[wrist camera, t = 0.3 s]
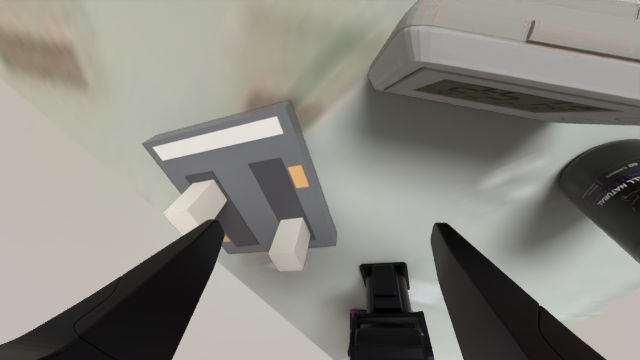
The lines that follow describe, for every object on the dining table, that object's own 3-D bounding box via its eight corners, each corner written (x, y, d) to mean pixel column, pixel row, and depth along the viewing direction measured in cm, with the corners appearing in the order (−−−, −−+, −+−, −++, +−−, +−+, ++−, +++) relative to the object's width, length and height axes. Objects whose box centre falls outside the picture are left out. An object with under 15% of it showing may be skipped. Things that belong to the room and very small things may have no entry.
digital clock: (356, 77, 19) (355, 128, 10) (420, -75, 13) (531, -233, 5) (521, 147, 20) (640, 242, 12) (637, 35, 15) (1005, 61, 7)
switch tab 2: (310, 234, 28) (303, 270, 24) (289, 236, 28) (279, 271, 25) (302, 217, 26) (293, 252, 22) (280, 220, 27) (268, 254, 23)
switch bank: (337, 233, 30) (336, 246, 28) (234, 242, 34) (228, 254, 33) (290, 99, 20) (284, 107, 19) (155, 135, 25) (141, 144, 23)
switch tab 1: (227, 200, 26) (204, 232, 22) (207, 203, 27) (182, 234, 23) (213, 179, 25) (186, 210, 21) (192, 183, 25) (163, 213, 21)
